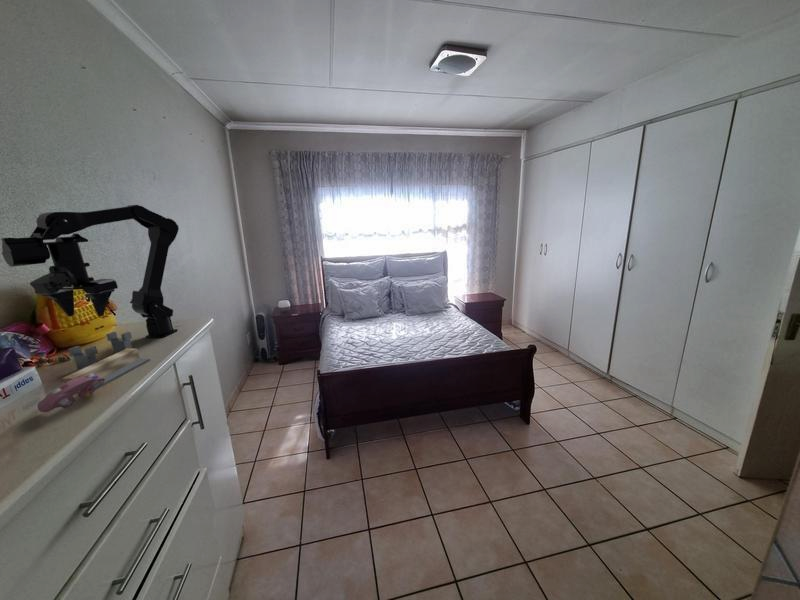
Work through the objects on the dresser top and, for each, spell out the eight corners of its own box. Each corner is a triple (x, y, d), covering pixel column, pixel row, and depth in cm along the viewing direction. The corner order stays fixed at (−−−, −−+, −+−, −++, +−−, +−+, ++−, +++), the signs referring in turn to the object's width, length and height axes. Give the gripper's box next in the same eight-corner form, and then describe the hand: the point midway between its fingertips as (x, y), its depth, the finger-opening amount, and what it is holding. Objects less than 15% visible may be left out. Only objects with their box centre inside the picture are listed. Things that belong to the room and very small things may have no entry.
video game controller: (51, 423, 63) (55, 401, 60) (33, 410, 63) (37, 387, 61) (105, 395, 72) (111, 374, 70) (89, 383, 72) (94, 362, 70)
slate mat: (120, 359, 87) (120, 358, 87) (150, 360, 87) (149, 358, 86) (55, 391, 72) (54, 389, 72) (90, 392, 71) (90, 390, 71)
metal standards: (118, 350, 94) (112, 331, 92) (135, 350, 93) (130, 331, 92) (75, 370, 82) (68, 349, 80) (94, 370, 82) (87, 349, 80)
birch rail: (129, 358, 87) (126, 348, 86) (139, 358, 87) (136, 348, 86) (66, 389, 72) (62, 378, 71) (78, 390, 71) (74, 378, 70)
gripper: (-3, 266, 77) (20, 326, 81) (66, 265, 75) (86, 326, 79) (50, 259, 87) (68, 312, 91) (111, 258, 86) (126, 312, 90)
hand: (86, 315), depth 88 cm, fingers open, 9 cm apart
